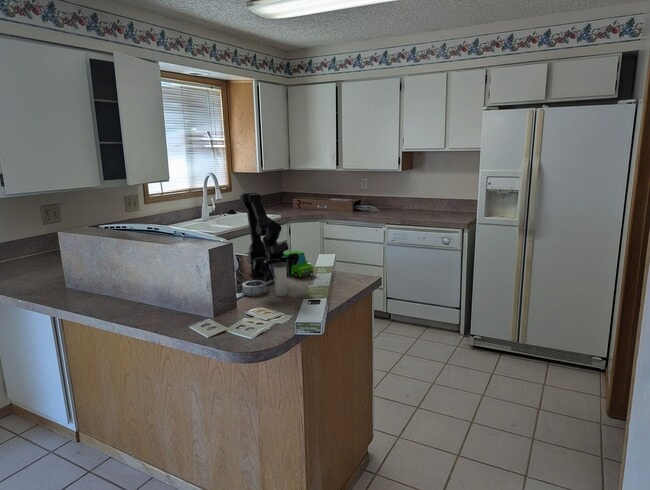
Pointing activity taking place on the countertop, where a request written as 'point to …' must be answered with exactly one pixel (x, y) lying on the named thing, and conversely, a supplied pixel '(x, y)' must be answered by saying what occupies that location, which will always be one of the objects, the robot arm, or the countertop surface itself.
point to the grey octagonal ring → (254, 288)
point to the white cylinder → (280, 278)
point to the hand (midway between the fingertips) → (281, 279)
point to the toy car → (300, 265)
